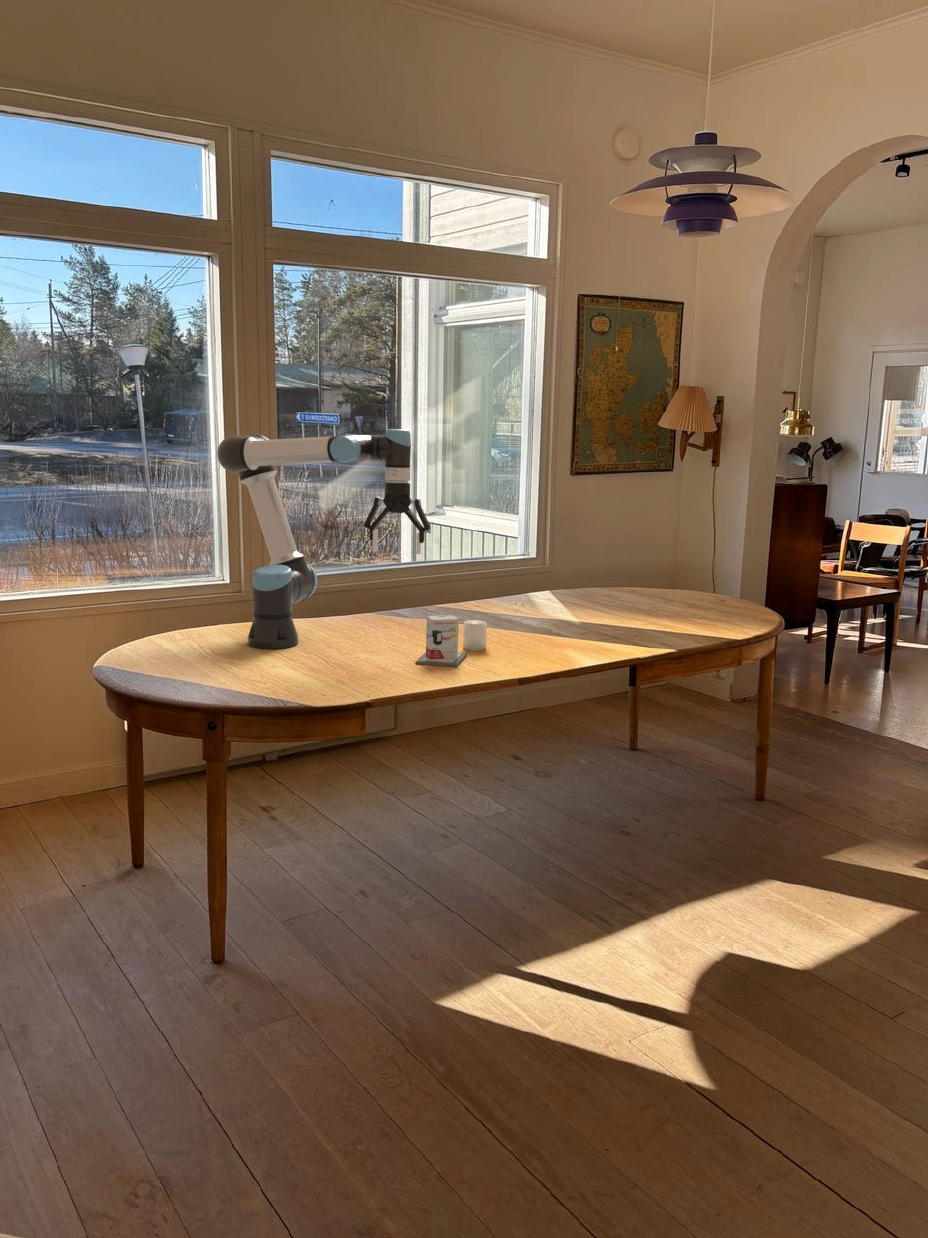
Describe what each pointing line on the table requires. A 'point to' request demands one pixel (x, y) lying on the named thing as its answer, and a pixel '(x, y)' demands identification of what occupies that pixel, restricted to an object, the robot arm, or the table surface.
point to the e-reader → (442, 660)
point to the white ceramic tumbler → (474, 635)
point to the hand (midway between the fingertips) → (396, 552)
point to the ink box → (442, 637)
